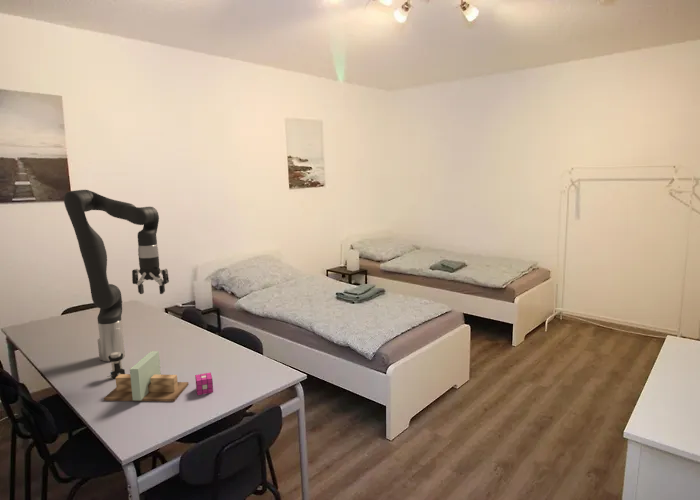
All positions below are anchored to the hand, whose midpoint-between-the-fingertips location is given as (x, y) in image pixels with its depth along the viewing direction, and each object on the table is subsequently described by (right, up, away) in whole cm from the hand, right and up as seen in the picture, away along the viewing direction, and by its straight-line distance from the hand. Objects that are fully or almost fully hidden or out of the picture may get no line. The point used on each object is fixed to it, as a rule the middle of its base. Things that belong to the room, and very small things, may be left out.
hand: (151, 293), depth 183 cm
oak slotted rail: (+6, -36, -17) cm, 40 cm away
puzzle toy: (+27, -36, -16) cm, 48 cm away
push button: (-12, -34, -5) cm, 36 cm away
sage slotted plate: (+6, -35, -17) cm, 39 cm away
